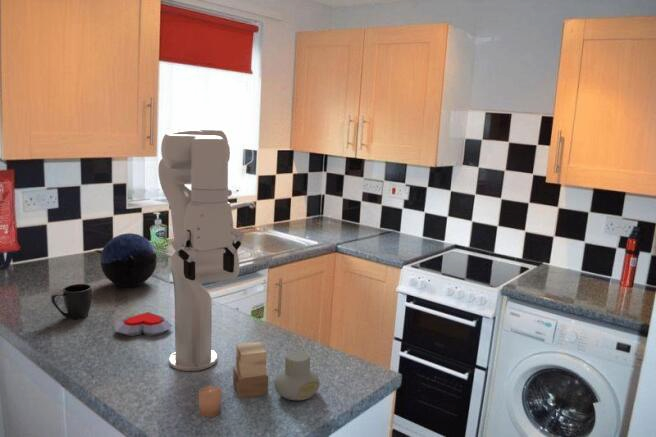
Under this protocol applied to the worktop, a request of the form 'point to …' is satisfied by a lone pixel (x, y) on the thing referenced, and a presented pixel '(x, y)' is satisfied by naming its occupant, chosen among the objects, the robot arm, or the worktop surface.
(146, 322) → the sculpture
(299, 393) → the air freshener
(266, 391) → the base block
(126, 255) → the decorative sphere
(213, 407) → the brown rounded cylinder
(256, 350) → the top block
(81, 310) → the mug
